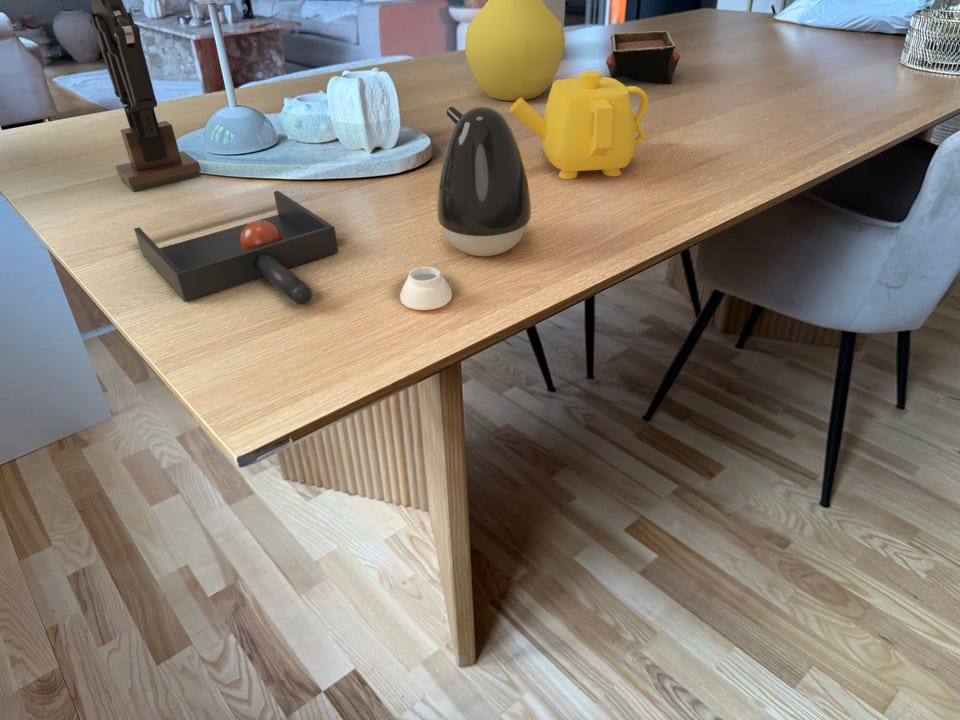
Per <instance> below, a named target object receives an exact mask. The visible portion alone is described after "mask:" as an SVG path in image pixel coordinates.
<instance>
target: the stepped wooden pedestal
mask: <svg viewBox="0 0 960 720" xmlns="http://www.w3.org/2000/svg"><path fill="white" fill-rule="evenodd" d="M157 122H158V126H159V129H160V133H161V136H162V139H163V143H164V146H165V150H166V153H167V157H168V158H166V159H161V160H157V161H152V162H148V163H147V162H146V160H145V157H144V154H143V151H142V147H141V144H140V141H139V138H138V134H137V131H136V128H135V127H132V128H130V127H126V128H121V129H120V133H121V137H122V141H123V143H124V146H125V149H126V153H127V156H128V160H129V162H127V163H123V164H118V165H115V166H114V167H115V170H116V174H117V175H118V177H119V178H120V180H121V182H122V183H123V184H124V185H126V187H127V188H129V190H130V191H132V192H133V193H138V192H140V191H146V190H151V189H154V188H158V187H163V186H167V185H171V184H175V183H179V182H184V181H187V180H191V179H192V180H193V179H196V178H201V171H202V170H201V165H200V162H199V161H198V160H197V159H195V158H194V157H192V156H191V155H189V154H188V153H187V152H185V151H183V150H181V151H180V150H179V147H178V143H177V139H176V135H175V132H174V128H173V124H171V123H170V122H168V121H167V120H162V121H157Z"/></svg>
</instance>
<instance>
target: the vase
mask: <svg viewBox="0 0 960 720" xmlns="http://www.w3.org/2000/svg"><path fill="white" fill-rule="evenodd" d="M565 40H566V38H565V33H564V27H562V24H561V23H560V22H559V21H558V19H557V18H556V17H555V16H554V15H553V14H552V12H551V11H550V10H549V9H548V8H547V7H546V5H545V4H544V3H543V2H542V0H487V1H486V3H485V4H484V6H483V7H482V8H481V9H480V10H479V12H478V13H477V14H476V16H474V17H473V19H472V20H471V21H470V22H469V24H468V25H467V27H466V32H465V38H464V46H465V47H464V48H465V56H466V59H467V64H468V67H469V69H470V71H471V74H472V76H473V78H474V80H475V82H476V83H477V84H478V86H479V88H480V89H481V90H482V91H483V92H484V93H485V94H486V95H487V96H488V97H489V98H492V99H495V100H499V101H506V102H516V101H517V100H518V99H519V98H522V99H523V100H524V101H529V100H533V99H535V98H538V97H540V96H541V95H542V94H543V93H544V92H545V91H546V89H548V88H549V86H550V84H551V83H552V81H553V80H554V78H555V77H556V74H557V73H558V70H559V68H560V65H561V61H562V59H563V56H564V52H565Z"/></svg>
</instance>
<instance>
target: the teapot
mask: <svg viewBox="0 0 960 720" xmlns="http://www.w3.org/2000/svg"><path fill="white" fill-rule="evenodd" d="M602 76H603V73H602V72H601V71H597V70H584V71H582V72H579V77H578V76H568V77H567V78H563V79H562V78H561V79H555V80H554V81H553V82H552V85H551V87H550V91H549V94H548V98H547V101H546V105H545V109H544V113H543V117H542V115H540V114H539V113H538V112H537V111H536V110H535V109H533V107H532V106H531V105H530V104H529V103H528V102H526V100H523V99H522V98H519V99H518V100H517V101H514V103H513V104H512V105H511V106H510V108H509V112H510V113H511V114H512V115H513V116H514V117H516V119H518V120H519V122H521V123H522V124H523V125H525V127H526V128H528V129H529V130H530V131H531V132H532V133H533V134H535V136H537V137H538V138H539V139H540V140H541V145H542V149H543V151H544V154H545V156H546V158H547V160H548V161H549V162H550V163H551V164H552V165H553V166H554V168H557V169H558V170H560V171H559V174H558V177H559V178H560V179H564V180H573V179H576V178H578V173H579V172H581V171H599V170H601V171H602V174H603V176H607V177H618V176H621V175H622V171H621V168H626V167H627V166H628V165H629V164H630V162H631V160H632V158H633V156H634V154H635V150H636V149H635V148H636V147H635V146H636V145H637V146H638V145H640V144H641V143H642V142H643V141H644V140H645V131H644V128H642V127H641V126H640V124H641V122H642V120H643V119H644V117H645V115H646V112H647V110H648V107H649V96H648V95H647V93H646V91H644V90H643V89H642V88H640V87H638V86H634V85H630V86H629V85H628V86H626V85H625V84H623V83H622V82H621V81H620V80H617V79H613V78H611V77H608V76H606V77H605V76H603V77H602ZM632 94H633V95H638V96H639V98H640V101H639V102H640V103H639V105H638V108H637V111H636V113H635V115H634V110H633V104H632V99H631V95H632ZM639 126H640V127H639ZM636 133H638V135H637V136H636Z"/></svg>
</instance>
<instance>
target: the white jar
mask: <svg viewBox="0 0 960 720" xmlns="http://www.w3.org/2000/svg"><path fill="white" fill-rule="evenodd" d="M452 298H453V292H452V289H451V287H450V285H449V284H448V282H447V281H446V279H445V277H444V276H442V273H441V271H440V270H439V269H437V268H435V267H431V266H422V267H421V266H420V267H416V268H414V269H412V270H410V271H409V273H408V276H407V279H405V282H404V283H403V287H402V289H401V291H400V293H399V299H400V302H401V304H402V305H404V306H405V307H406V308H409V309H412V310H415V311H430V310H436V309H439V308H442V307H445V306H446V305H447V304H448V303H450V302H451V300H452Z"/></svg>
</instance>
